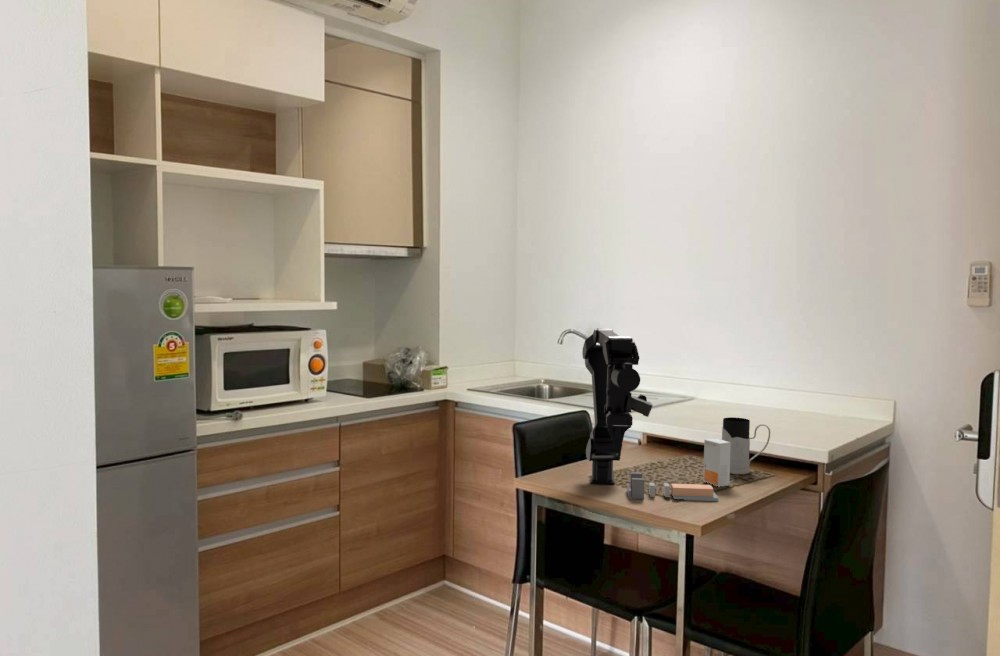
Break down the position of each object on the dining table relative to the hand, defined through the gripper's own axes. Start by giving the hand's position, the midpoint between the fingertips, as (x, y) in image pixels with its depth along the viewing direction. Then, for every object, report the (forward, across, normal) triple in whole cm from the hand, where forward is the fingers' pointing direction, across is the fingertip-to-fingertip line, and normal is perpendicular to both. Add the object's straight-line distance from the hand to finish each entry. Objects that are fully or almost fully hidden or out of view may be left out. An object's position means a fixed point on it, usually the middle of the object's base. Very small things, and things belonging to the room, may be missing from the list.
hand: (617, 447), depth 197 cm
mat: (+13, +4, -20) cm, 24 cm away
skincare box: (+13, +18, -28) cm, 36 cm away
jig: (+13, +4, -9) cm, 16 cm away
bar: (+12, +4, -19) cm, 23 cm away
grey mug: (+13, +35, -39) cm, 54 cm away
